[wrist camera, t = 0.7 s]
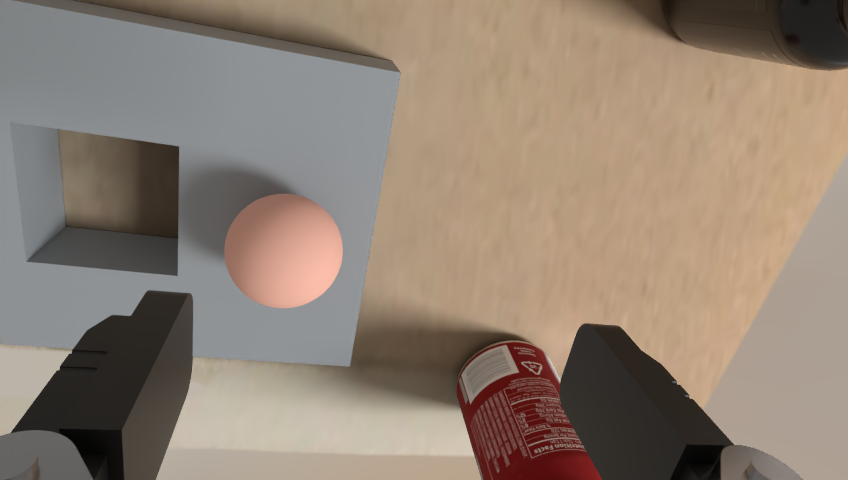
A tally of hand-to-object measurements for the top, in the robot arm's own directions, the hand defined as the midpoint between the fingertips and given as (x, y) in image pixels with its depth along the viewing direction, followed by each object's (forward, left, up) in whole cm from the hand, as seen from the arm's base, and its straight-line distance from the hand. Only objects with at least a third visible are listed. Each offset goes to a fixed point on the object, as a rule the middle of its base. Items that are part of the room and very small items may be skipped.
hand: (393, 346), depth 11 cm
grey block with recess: (+4, -7, -19) cm, 21 cm away
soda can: (+15, +12, -19) cm, 27 cm away
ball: (+4, -3, -13) cm, 14 cm away
